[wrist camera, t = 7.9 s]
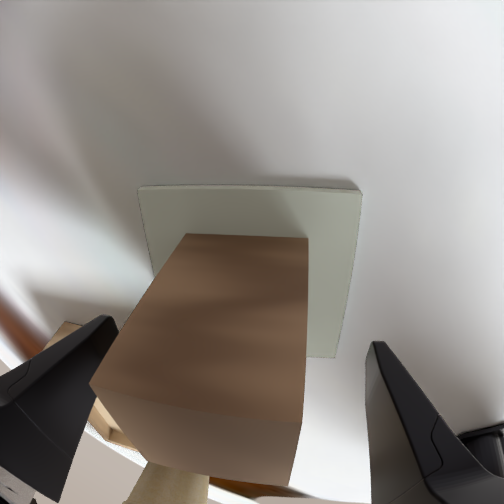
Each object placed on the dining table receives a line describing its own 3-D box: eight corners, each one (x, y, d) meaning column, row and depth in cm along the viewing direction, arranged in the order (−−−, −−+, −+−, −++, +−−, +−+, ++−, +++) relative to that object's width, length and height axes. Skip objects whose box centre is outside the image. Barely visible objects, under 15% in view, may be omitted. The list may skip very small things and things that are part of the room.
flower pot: (245, 475, 26) (230, 547, 19) (187, 478, 30) (170, 535, 23) (174, 438, 23) (146, 522, 16) (124, 443, 27) (98, 507, 20)
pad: (360, 190, 10) (362, 194, 10) (334, 351, 14) (334, 358, 14) (141, 186, 11) (137, 190, 11) (175, 337, 15) (172, 343, 15)
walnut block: (308, 237, 11) (302, 422, 5) (301, 330, 13) (287, 486, 7) (186, 233, 12) (88, 383, 6) (201, 322, 14) (147, 461, 8)
